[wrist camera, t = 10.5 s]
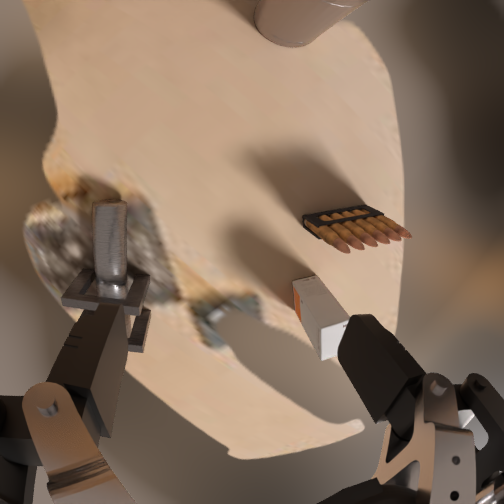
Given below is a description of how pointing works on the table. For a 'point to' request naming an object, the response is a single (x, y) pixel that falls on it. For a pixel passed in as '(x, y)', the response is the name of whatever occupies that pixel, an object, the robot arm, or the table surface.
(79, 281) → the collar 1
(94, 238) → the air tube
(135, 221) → the table surface
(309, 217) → the ammunition clip
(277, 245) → the table surface
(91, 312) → the dark grey rectangular frame
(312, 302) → the skincare box
